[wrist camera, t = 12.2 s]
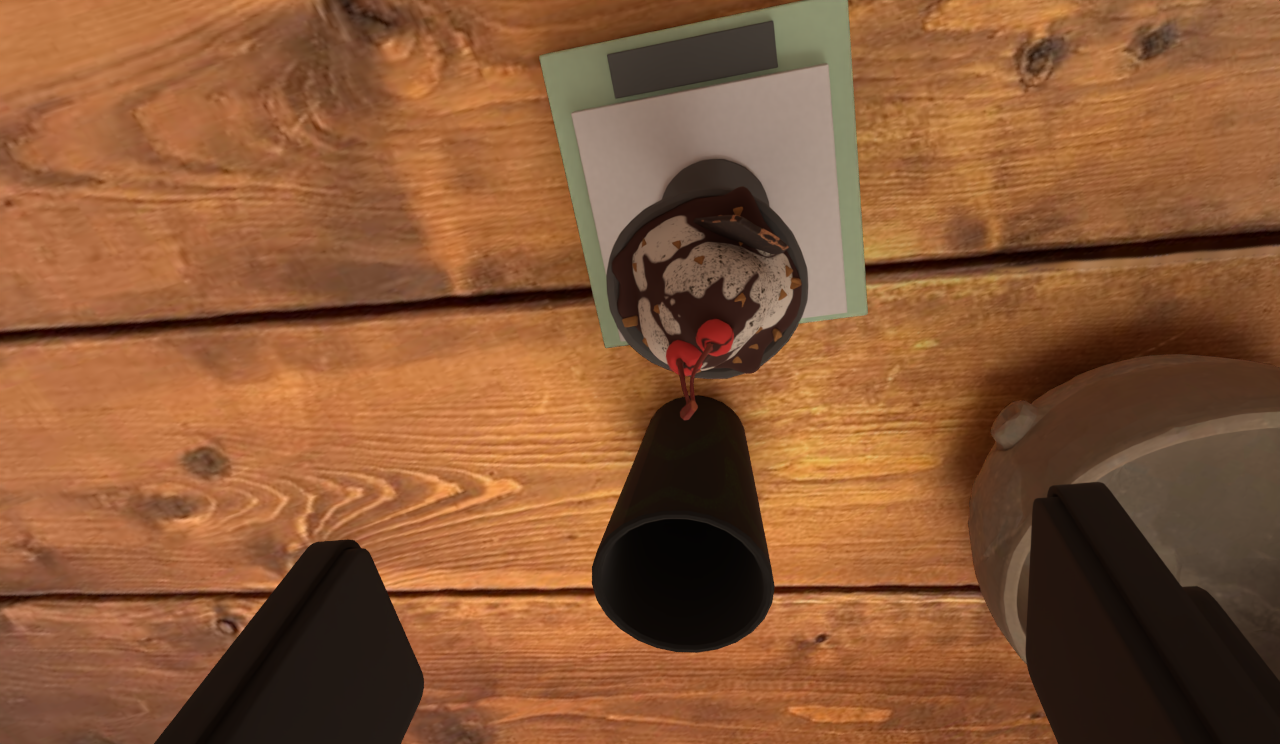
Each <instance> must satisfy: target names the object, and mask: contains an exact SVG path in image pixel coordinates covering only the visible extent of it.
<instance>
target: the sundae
mask: <svg viewBox="0 0 1280 744" xmlns="http://www.w3.org/2000/svg"><path fill="white" fill-rule="evenodd" d="M606 282H607V296H608V302H609V308H610V312H611V314H612V317H613V319H614V321H615V323H616V326H617V328H618V329H619V331H620V332H621V334H622V336H623V337H624V339H625V340H626V342H627V343H628V344H629V345H630V346H631V347H632V348H633V349H635V350H636V351H637V352H638V353H639V354H640V355H642V356H643V357H644V358H646V359H647V360H649V361H650V362H652V363H654V364H656V365H658V366H660V367H663V368H665V369H667V370H670V371H673V372H675V373H676V374H679V377H680V381H681V386H682V390H683V393H684V396H685V399H686V406H684V407H683V408H682V409H681V411H680V417H681V418H682V419H683V420H689V419H690V417H691V416H692V415H693V414H694V412H695V411H696V410H697V408H698V405H697V404H696V402H695V395H694V384H693V383H694V378H703V379H727V378H731V377H734V376H738V375H741V374H744V373H746V374H747V373H754V372H755V371H757V370H758V369H759V368H760V366H762V365H763V364H764V363H765V362H767V361H768V360H769V359H770V358H772V357H773V356H774V355H775V354H776V353H777V352H778V351H779V350H780V349H781V348H782V347H783V346H784V345H785V344H786V343H787V342H788V341H789V339H790V337H791V336H792V334H793V333H794V331H795V330H796V328H797V326H798V324H799V322H800V320H801V318H802V316H803V313H804V310H805V307H806V304H807V301H808V270H807V266H806V263H805V260H804V257H803V254H802V251H801V249H800V247H799V245H798V242H797V240H796V238H795V236H794V234H793V232H792V231H791V230H790V229H789V227H788V226H787V225H786V224H785V222H784V221H783V220H782V219H781V218H780V216H779V215H778V214H777V213H776V212H775V211H773V210H772V209H771V208H770V207H769V200H768V197H767V194H766V192H765V190H764V188H763V186H762V184H761V182H760V181H759V180H758V179H757V177H756V176H755V175H754V174H753V173H752V172H750V171H749V170H748V169H747V168H746V167H744V166H742V165H740V164H737V163H735V162H732V161H729V160H725V159H708V160H701V161H699V162H696V163H694V164H691V165H689V166H688V167H686V168H684V169H682V170H681V171H680V172H679V173H678V174H677V175H676V176H675V177H674V178H673V179H672V181H671V182H670V183H669V184H668V186H667V188H666V190H665V192H664V195H663V197H662V200H660V201H658V202H656V203H654V204H653V205H651V206H649V207H647V208H645V209H644V210H643V211H642V212H640V213H639V214H638V215H637V216H636V217H635V218H634V219H633V220H631V221H630V222H629V224H628V225H627V226H626V227H625V228H624V229H623V230H622V231H621V233H620V234H619V236H618V238H617V240H616V242H615V244H614V245H613V248H612V251H611V254H610V258H609V262H608V268H607V274H606ZM685 376H690V398H691V401H690V398H689V395H688V391H687V388H686V382H685Z"/></svg>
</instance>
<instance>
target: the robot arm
mask: <svg viewBox="0 0 1280 744" xmlns="http://www.w3.org/2000/svg"><path fill="white" fill-rule="evenodd" d="M1025 650H1026V661H1027V666H1028V671H1029V674H1030V677H1031V680H1032V683H1033V685H1034V687H1035V690H1036V692H1037V695H1038V697H1039V699H1040V702H1041V704H1042V706H1043V709H1044V711H1045V713H1046V716H1047V718H1048V721H1049V723H1050V725H1051V728H1052V730H1053V732H1054V735H1055V737H1056V739H1057V742H1058V744H1280V681H1279V680H1278V678H1277V677H1276V676H1275V675H1274V673H1273V672H1272V671H1271V669H1270V668H1269V667H1268V666H1267V664H1266V663H1265V662H1264V660H1263V659H1262V658H1261V657H1260V655H1259V654H1258V653H1257V652H1256V650H1255V649H1254V648H1253V646H1252V645H1251V644H1250V643H1249V641H1248V640H1247V639H1246V638H1245V636H1244V635H1243V634H1242V632H1241V631H1240V630H1239V629H1238V627H1237V626H1236V625H1235V624H1234V622H1233V621H1232V620H1231V618H1230V617H1229V616H1228V615H1227V613H1226V612H1225V611H1224V609H1223V608H1222V607H1221V606H1220V604H1219V603H1218V602H1217V601H1216V600H1215V599H1214V598H1213V597H1212V596H1211V595H1210V594H1209V593H1208V592H1207V591H1206V590H1204V589H1202V588H1200V587H1198V586H1188V587H1182V586H1181V585H1180V584H1179V582H1178V581H1177V580H1176V578H1175V577H1174V576H1173V574H1172V573H1171V572H1170V570H1169V569H1168V567H1167V566H1166V565H1165V563H1164V562H1163V561H1162V559H1161V558H1160V557H1159V555H1158V554H1157V553H1156V551H1155V550H1154V549H1153V547H1152V546H1151V545H1150V543H1149V542H1148V541H1147V539H1146V538H1145V537H1144V535H1143V534H1142V533H1141V531H1140V530H1139V529H1138V527H1137V526H1136V524H1135V523H1134V522H1133V520H1132V519H1131V518H1130V516H1129V515H1128V514H1127V512H1126V511H1125V510H1124V508H1123V507H1122V506H1121V504H1120V503H1119V502H1118V500H1117V499H1116V498H1115V496H1114V495H1113V494H1112V492H1111V491H1110V490H1109V488H1108V487H1107V486H1106V485H1105V484H1104V483H1101V482H1090V483H1077V484H1064V485H1053V486H1051V487H1050V488H1049V490H1048V493H1047V497H1046V498H1036V499H1035V500H1034V502H1033V509H1032V529H1031V549H1030V568H1029V588H1028V608H1027V628H1026V648H1025ZM423 689H424V678H423V674H422V671H421V668H420V666H419V664H418V662H417V659H416V657H415V655H414V652H413V650H412V648H411V646H410V643H409V641H408V639H407V637H406V634H405V632H404V630H403V627H402V625H401V623H400V621H399V618H398V616H397V614H396V611H395V609H394V607H393V605H392V602H391V600H390V598H389V596H388V593H387V591H386V589H385V586H384V584H383V582H382V580H381V577H380V575H379V573H378V571H377V568H376V566H375V564H374V561H373V559H372V557H371V555H370V553H369V552H368V551H367V550H366V549H363V548H361V547H360V546H359V544H358V543H357V542H355V541H354V540H337V541H324V542H316V543H313V544H312V545H310V546H309V547H308V548H307V549H306V551H305V552H304V553H303V554H302V556H301V557H300V558H299V560H298V561H297V562H296V563H295V565H294V566H293V567H292V568H291V570H290V571H289V572H288V574H287V575H286V576H285V577H284V579H283V580H282V581H281V582H280V584H279V585H278V586H277V588H276V589H275V590H274V591H273V593H272V594H271V595H270V597H269V598H268V599H267V600H266V602H265V603H264V604H263V605H262V607H261V608H260V609H259V611H258V612H257V613H256V614H255V616H254V617H253V618H252V619H251V621H250V622H249V623H248V625H247V626H246V627H245V628H244V630H243V631H242V632H241V633H240V635H239V636H238V637H237V639H236V640H235V641H234V642H233V644H232V645H231V646H230V647H229V649H228V650H227V651H226V653H225V654H224V655H223V656H222V658H221V659H220V660H219V661H218V663H217V664H216V665H215V667H214V668H213V669H212V670H211V672H210V673H209V674H208V676H207V677H206V678H205V679H204V681H203V682H202V683H201V684H200V686H199V687H198V688H197V690H196V691H195V692H194V693H193V695H192V696H191V697H190V698H189V700H188V701H187V702H186V704H185V705H184V706H183V707H182V709H181V710H180V711H179V712H178V714H177V715H176V716H175V718H174V719H173V720H172V721H171V723H170V724H169V725H168V726H167V728H166V729H165V730H164V732H163V733H162V734H161V735H160V737H159V738H158V739H157V741H156V742H155V743H154V744H401V742H402V740H403V738H404V735H405V733H406V731H407V729H408V727H409V725H410V722H411V720H412V718H413V716H414V714H415V711H416V709H417V707H418V705H419V703H420V700H421V697H422V694H423Z"/></svg>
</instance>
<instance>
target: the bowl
mask: <svg viewBox="0 0 1280 744" xmlns="http://www.w3.org/2000/svg"><path fill="white" fill-rule="evenodd" d="M991 435H992V437H993V438H994V440H995V441H996V443H995V444H994V446H993V447H992V449H991V451H990V452H989V454H988V456H987V458H986V460H985V462H984V464H983V466H982V468H981V471H980V473H979V475H978V476H977V478H976V479H975V481H974V483H973V487H972V494H971V498H970V501H969V521H968V527H969V534H970V541H971V550H972V557H973V563H974V568H975V574H976V577H977V580H978V583H979V586H980V589H981V592H982V595H983V597H984V599H985V602H986V604H987V606H988V608H989V610H990V612H991V614H992V616H993V618H994V620H995V622H996V623H997V625H998V627H999V628H1000V630H1001V631H1002V633H1003V634H1004V636H1005V637H1006V639H1007V640H1008V642H1009V643H1010V644H1011V646H1012V647H1013V649H1014V650H1015V651H1016V653H1017V654H1018V655H1019V656H1020V658H1021V659H1022V660H1023V661H1024V662H1025V663H1026V664H1027V661H1026V650H1025V648H1026V628H1027V608H1028V588H1029V568H1030V549H1031V529H1032V509H1033V502H1034V500H1035V499H1036V498H1046V497H1047V493H1048V490H1049V488H1050V487H1051V486H1053V485H1064V484H1077V483H1090V482H1101V483H1104V484H1105V485H1106V486H1107V487H1108V488H1109V490H1110V491H1111V492H1112V494H1113V495H1114V496H1115V498H1116V499H1117V500H1118V502H1119V503H1120V504H1121V506H1122V507H1123V508H1124V510H1125V511H1126V512H1127V514H1128V515H1129V516H1130V518H1131V519H1132V520H1133V522H1134V523H1135V524H1136V526H1137V527H1138V529H1139V530H1140V531H1141V533H1142V534H1143V535H1144V537H1145V538H1146V539H1147V541H1148V542H1149V543H1150V545H1151V546H1152V547H1153V549H1154V550H1155V551H1156V553H1157V554H1158V555H1159V557H1160V558H1161V559H1162V561H1163V562H1164V563H1165V565H1166V566H1167V567H1168V569H1169V570H1170V572H1171V573H1172V574H1173V576H1174V577H1175V578H1176V580H1177V581H1178V582H1179V584H1180V585H1181V586H1182V587H1188V586H1198V587H1200V588H1202V589H1204V590H1206V591H1207V592H1208V593H1209V594H1210V595H1211V596H1212V597H1213V598H1214V599H1215V600H1216V601H1217V602H1218V603H1219V604H1220V606H1221V607H1222V608H1223V609H1224V611H1225V612H1226V613H1227V615H1228V616H1229V617H1230V618H1231V620H1232V621H1233V622H1234V624H1235V625H1236V626H1237V627H1238V629H1239V630H1240V631H1241V632H1242V634H1243V635H1244V636H1245V638H1246V639H1247V640H1248V641H1249V643H1250V644H1251V645H1252V646H1253V648H1254V649H1255V650H1256V652H1257V653H1258V654H1259V655H1260V657H1261V658H1262V659H1263V660H1264V662H1265V663H1266V664H1267V666H1268V667H1269V668H1270V669H1271V671H1272V672H1273V673H1274V675H1275V676H1276V677H1277V678H1278V680H1279V681H1280V367H1277V366H1273V365H1269V364H1265V363H1260V362H1254V361H1247V360H1240V359H1231V358H1222V357H1213V356H1200V355H1187V354H1170V355H1151V356H1144V357H1137V358H1133V359H1128V360H1123V361H1119V362H1115V363H1111V364H1107V365H1104V366H1101V367H1098V368H1096V369H1093V370H1090V371H1087V372H1085V373H1082V374H1079V375H1077V376H1075V377H1074V378H1072V379H1071V380H1069V381H1067V382H1065V383H1063V384H1061V385H1059V386H1057V387H1055V388H1053V389H1051V390H1049V391H1048V392H1046V393H1045V394H1043V395H1042V396H1041V397H1039V398H1038V399H1036V400H1035V401H1034V402H1033V403H1031V404H1030V403H1028V402H1027V401H1025V400H1023V401H1013V402H1012V403H1010V404H1009V405H1008V406H1006V407H1005V408H1004V409H1003V410H1002V411H1001V412H1000V413H999V415H998V417H997V418H996V420H995V421H994V423H993V425H992V428H991Z"/></svg>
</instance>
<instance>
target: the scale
mask: <svg viewBox="0 0 1280 744" xmlns="http://www.w3.org/2000/svg"><path fill="white" fill-rule="evenodd" d="M539 59H540V64H541V68H542V72H543V77H544V81H545V86H546V90H547V94H548V99H549V103H550V108H551V112H552V116H553V121H554V125H555V130H556V134H557V138H558V143H559V147H560V152H561V156H562V160H563V165H564V169H565V174H566V178H567V182H568V187H569V191H570V196H571V200H572V204H573V209H574V213H575V218H576V222H577V226H578V231H579V235H580V240H581V244H582V248H583V253H584V257H585V262H586V266H587V270H588V275H589V279H590V284H591V288H592V292H593V297H594V301H595V306H596V310H597V314H598V319H599V323H600V328H601V332H602V336H603V341H604V345H605V348H611V347H618V346H626V345H629V344H628V343H627V342H626V340H625V339H624V337H623V336H622V334H621V332H620V331H619V329H618V328H617V326H616V323H615V321H614V319H613V317H612V314H611V312H610V308H609V302H608V296H607V282H606V274H607V268H608V262H609V258H610V254H611V251H612V248H613V245H614V244H615V242H616V240H617V238H618V236H619V234H620V233H621V231H622V230H623V229H624V228H625V227H626V226H627V225H628V224H629V222H630V221H631V220H633V219H634V218H635V217H636V216H637V215H638V214H639V213H640V212H642V211H643V210H644V209H645V208H647V207H649V206H651V205H653V204H654V203H656V202H658V201H660V200H662V197H663V195H664V192H665V190H666V188H667V186H668V184H669V183H670V182H671V181H672V179H673V178H674V177H675V176H676V175H677V174H678V173H679V172H680V171H681V170H682V169H684V168H686V167H688V166H689V165H691V164H694V163H696V162H699V161H701V160H708V159H725V160H729V161H732V162H735V163H737V164H740V165H742V166H744V167H746V168H747V169H748V170H749V171H750V172H752V173H753V174H754V175H755V176H756V177H757V179H758V180H759V181H760V182H761V184H762V186H763V188H764V190H765V192H766V194H767V197H768V200H769V207H770V208H771V209H772V210H773V211H775V212H776V213H777V214H778V215H779V216H780V218H781V219H782V220H783V221H784V222H785V224H786V225H787V226H788V227H789V229H790V230H791V231H792V232H793V234H794V236H795V238H796V240H797V242H798V245H799V247H800V249H801V251H802V254H803V257H804V260H805V263H806V266H807V270H808V301H807V304H806V307H805V310H804V313H803V316H802V318H801V320H800V322H799V323H807V322H815V321H822V320H830V319H838V318H846V317H854V316H862V315H867V314H868V307H867V292H866V276H865V261H864V245H863V229H862V214H861V198H860V183H859V167H858V151H857V136H856V120H855V104H854V89H853V73H852V58H851V42H850V26H849V11H848V0H802V1H797V2H792V3H788V4H783V5H778V6H773V7H768V8H764V9H759V10H754V11H749V12H744V13H740V14H735V15H730V16H725V17H720V18H716V19H711V20H706V21H701V22H696V23H692V24H687V25H682V26H677V27H672V28H668V29H663V30H658V31H653V32H648V33H644V34H639V35H634V36H629V37H624V38H620V39H615V40H610V41H605V42H600V43H596V44H591V45H586V46H581V47H576V48H572V49H567V50H562V51H557V52H552V53H548V54H543V55H540V56H539Z"/></svg>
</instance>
